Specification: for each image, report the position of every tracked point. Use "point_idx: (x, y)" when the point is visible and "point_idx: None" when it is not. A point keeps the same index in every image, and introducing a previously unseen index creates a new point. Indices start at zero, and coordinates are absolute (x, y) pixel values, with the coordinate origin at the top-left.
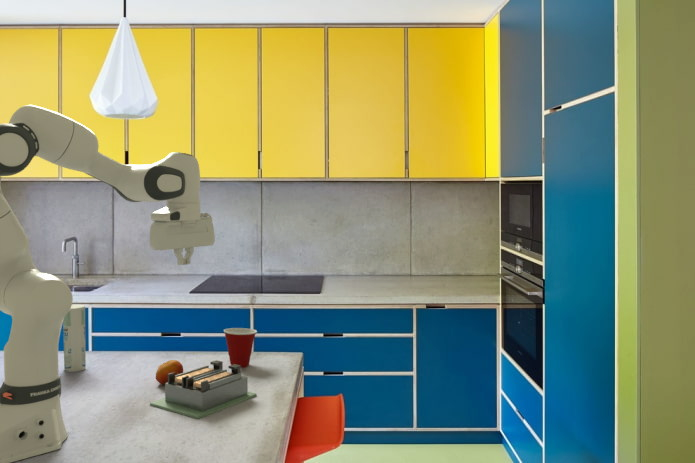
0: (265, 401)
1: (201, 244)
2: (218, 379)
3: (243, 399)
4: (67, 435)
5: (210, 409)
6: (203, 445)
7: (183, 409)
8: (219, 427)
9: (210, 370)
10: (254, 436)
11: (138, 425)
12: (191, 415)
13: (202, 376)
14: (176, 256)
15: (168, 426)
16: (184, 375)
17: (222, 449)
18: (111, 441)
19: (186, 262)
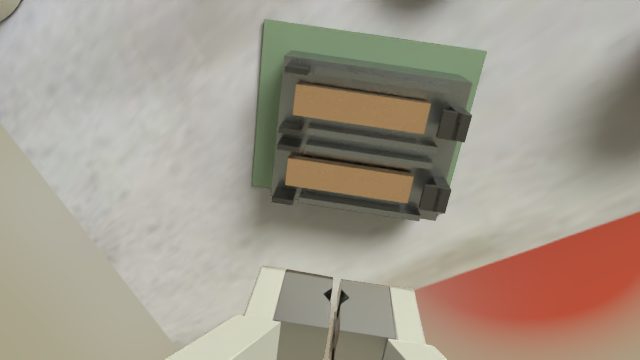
0: (413, 246)
1: None
2: (350, 193)
3: None
4: (18, 3)
5: None
6: (162, 263)
7: (270, 129)
8: (240, 243)
9: (406, 131)
10: (240, 312)
11: (157, 95)
12: (253, 166)
13: (353, 139)
14: (206, 341)
15: (189, 155)
16: (328, 94)
17: (169, 296)
18: (70, 109)
19: (330, 354)
